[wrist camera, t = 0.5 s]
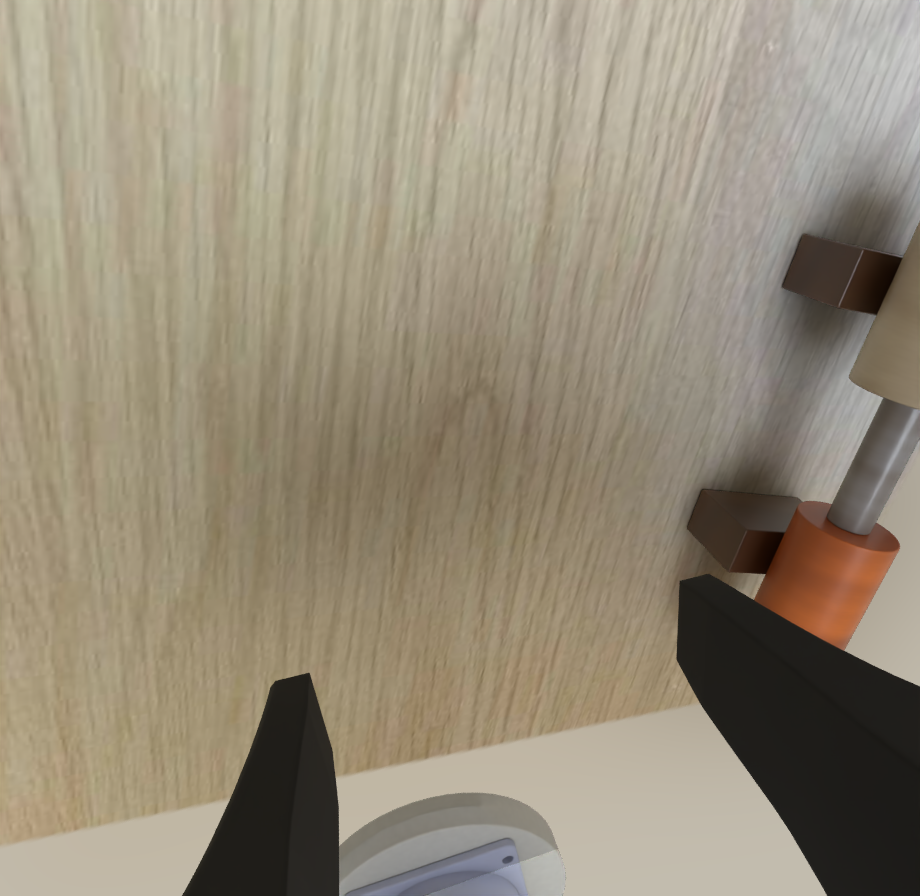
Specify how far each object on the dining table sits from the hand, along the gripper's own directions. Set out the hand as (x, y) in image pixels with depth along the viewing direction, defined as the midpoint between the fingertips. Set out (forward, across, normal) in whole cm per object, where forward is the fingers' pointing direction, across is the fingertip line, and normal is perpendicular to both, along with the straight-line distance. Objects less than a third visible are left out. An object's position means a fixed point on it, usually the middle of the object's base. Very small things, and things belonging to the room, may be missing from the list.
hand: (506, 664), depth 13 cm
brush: (+6, -12, +1) cm, 13 cm away
